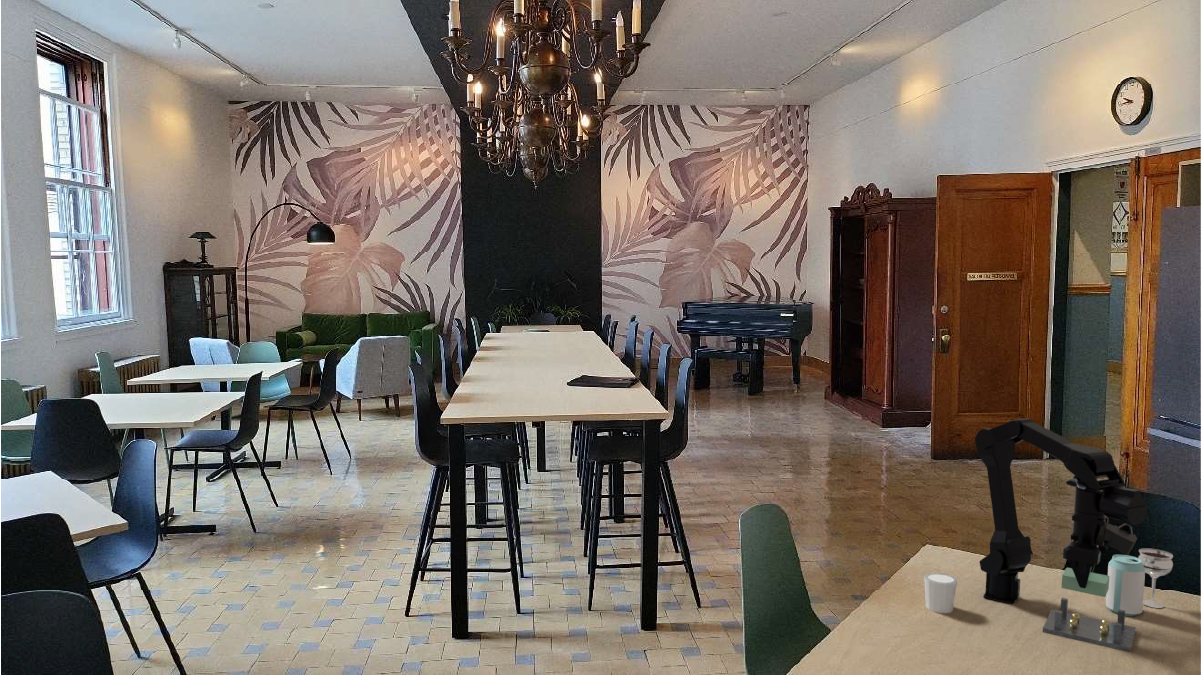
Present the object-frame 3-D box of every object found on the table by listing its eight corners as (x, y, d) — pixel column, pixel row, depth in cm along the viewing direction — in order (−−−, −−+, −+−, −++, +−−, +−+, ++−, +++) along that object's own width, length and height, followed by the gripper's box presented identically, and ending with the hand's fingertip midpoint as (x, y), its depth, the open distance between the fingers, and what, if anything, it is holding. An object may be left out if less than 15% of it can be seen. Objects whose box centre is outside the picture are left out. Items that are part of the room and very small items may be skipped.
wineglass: (1170, 612, 195) (1174, 560, 194) (1135, 606, 199) (1138, 554, 198) (1169, 602, 201) (1173, 551, 200) (1134, 596, 204) (1138, 546, 203)
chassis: (1042, 631, 185) (1043, 611, 184) (1051, 612, 195) (1052, 593, 194) (1130, 651, 176) (1132, 630, 175) (1135, 631, 186) (1136, 611, 185)
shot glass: (922, 611, 195) (923, 581, 194) (923, 600, 201) (924, 570, 201) (955, 616, 193) (957, 585, 192) (955, 604, 199) (957, 575, 198)
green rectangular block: (1061, 587, 183) (1062, 575, 183) (1065, 580, 188) (1066, 567, 187) (1105, 597, 179) (1106, 583, 178) (1108, 588, 183) (1109, 575, 183)
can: (1115, 602, 201) (1119, 551, 200) (1148, 612, 195) (1152, 560, 194) (1099, 608, 197) (1102, 557, 196) (1132, 619, 191) (1135, 566, 190)
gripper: (1129, 529, 169) (1123, 607, 171) (1140, 507, 184) (1135, 579, 186) (1064, 518, 176) (1060, 593, 178) (1080, 498, 191) (1076, 567, 192)
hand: (1085, 583), depth 183 cm, fingers closed on green rectangular block, 5 cm apart
